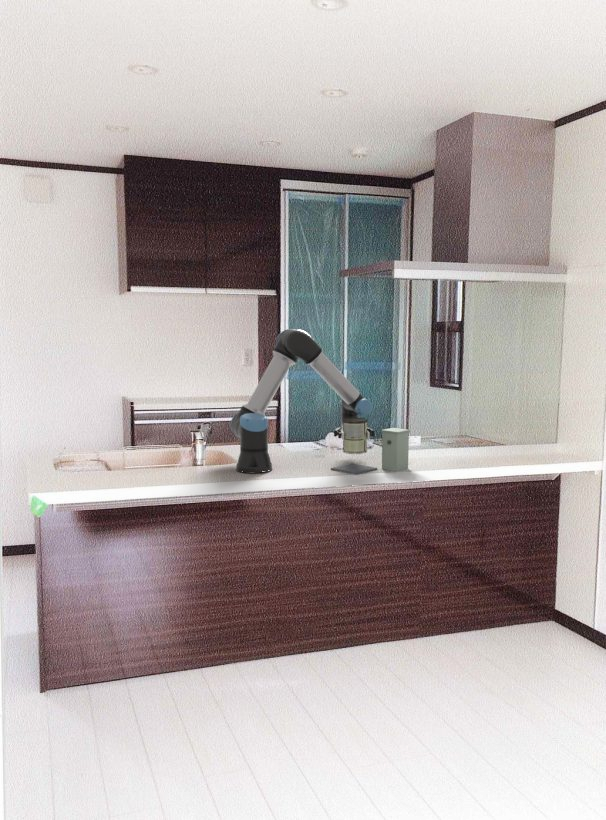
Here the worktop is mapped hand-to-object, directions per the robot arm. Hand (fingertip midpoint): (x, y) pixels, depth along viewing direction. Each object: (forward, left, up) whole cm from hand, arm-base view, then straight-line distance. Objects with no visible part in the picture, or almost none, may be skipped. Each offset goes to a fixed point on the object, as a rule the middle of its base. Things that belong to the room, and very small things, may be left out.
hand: (355, 436), depth 306 cm
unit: (+17, -8, -15) cm, 24 cm away
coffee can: (+3, +3, -8) cm, 9 cm away
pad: (+3, +3, -15) cm, 16 cm away
